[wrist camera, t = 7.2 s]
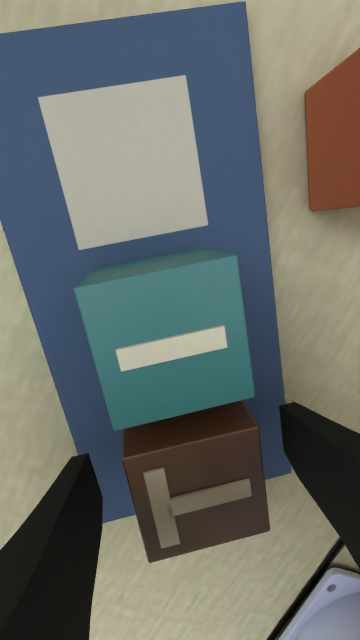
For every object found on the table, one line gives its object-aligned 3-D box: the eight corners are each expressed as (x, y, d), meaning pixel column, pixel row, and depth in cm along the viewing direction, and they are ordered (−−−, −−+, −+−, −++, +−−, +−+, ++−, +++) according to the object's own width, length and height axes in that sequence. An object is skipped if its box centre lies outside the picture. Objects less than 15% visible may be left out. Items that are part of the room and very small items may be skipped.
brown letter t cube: (233, 450, 14) (272, 534, 10) (144, 472, 14) (148, 567, 10) (222, 368, 13) (261, 428, 9) (124, 389, 13) (120, 461, 9)
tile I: (219, 347, 13) (257, 399, 9) (119, 370, 12) (113, 434, 8) (203, 246, 12) (238, 254, 8) (92, 268, 11) (71, 288, 7)
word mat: (288, 466, 15) (292, 473, 15) (101, 516, 15) (100, 524, 14) (241, 9, 10) (246, -1, 10) (-52, 48, 9) (-61, 40, 9)
